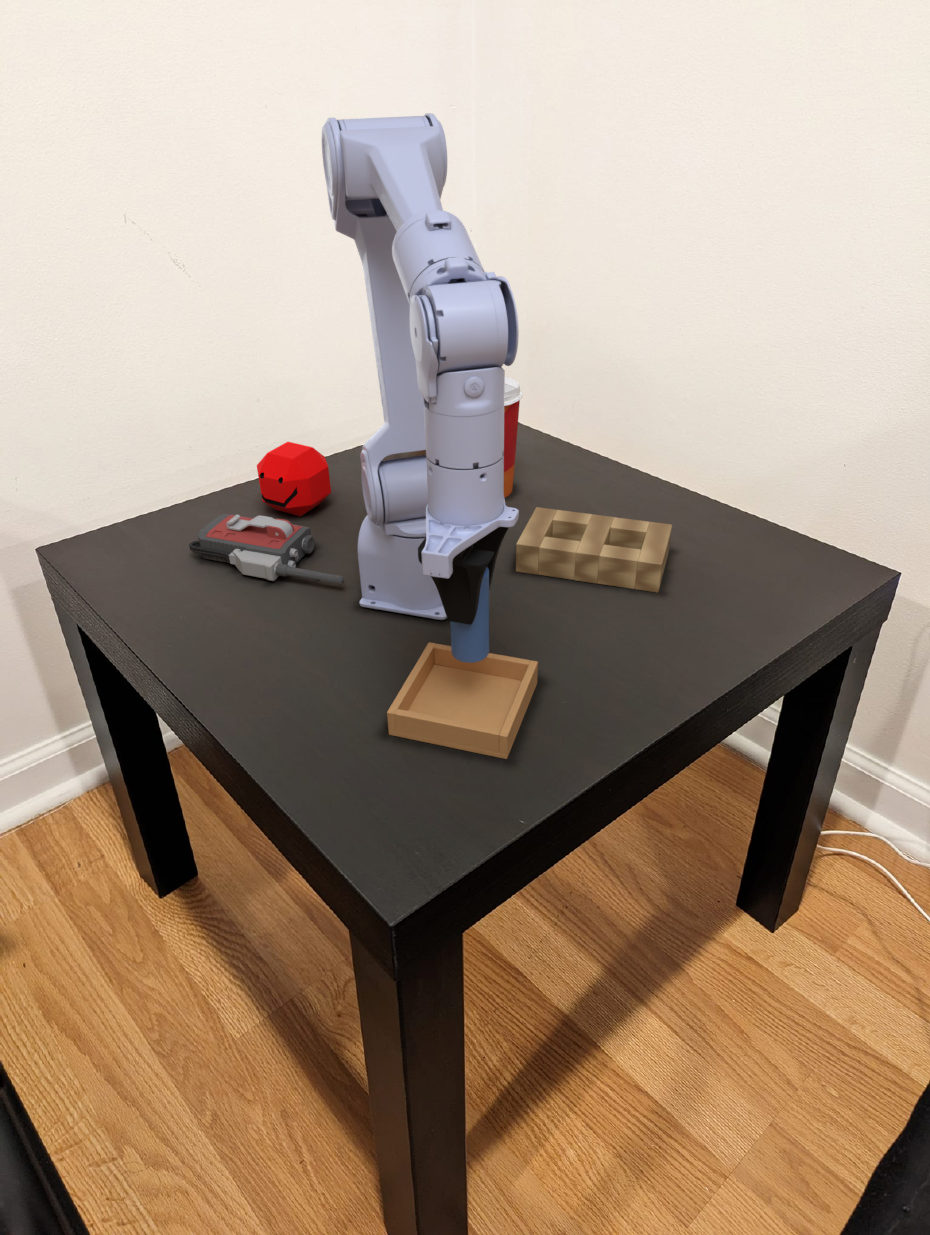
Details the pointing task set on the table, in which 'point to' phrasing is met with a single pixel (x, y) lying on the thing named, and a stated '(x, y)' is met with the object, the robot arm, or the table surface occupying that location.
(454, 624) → the peg
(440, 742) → the tray
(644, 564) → the peg block
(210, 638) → the table surface
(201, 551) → the walkie-talkie
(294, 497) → the ball
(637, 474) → the table surface
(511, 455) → the paper cup
